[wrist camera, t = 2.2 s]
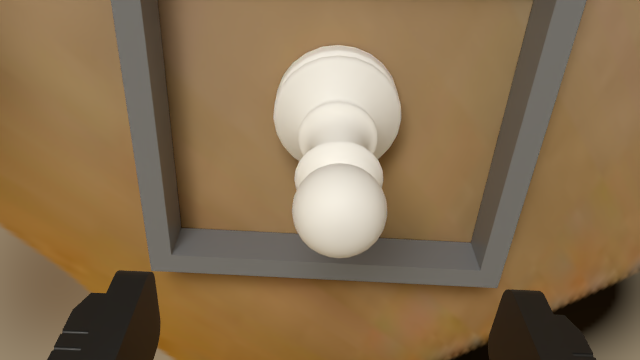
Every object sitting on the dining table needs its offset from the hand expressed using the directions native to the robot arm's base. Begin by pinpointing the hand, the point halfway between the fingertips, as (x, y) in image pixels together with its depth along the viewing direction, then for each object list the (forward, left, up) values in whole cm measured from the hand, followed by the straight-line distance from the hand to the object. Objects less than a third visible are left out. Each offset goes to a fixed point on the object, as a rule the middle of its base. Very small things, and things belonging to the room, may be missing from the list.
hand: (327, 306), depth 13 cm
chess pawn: (0, 0, -12) cm, 12 cm away
